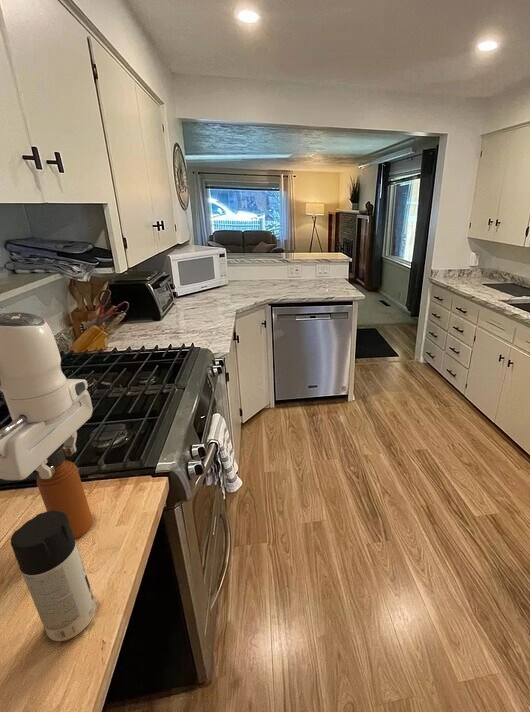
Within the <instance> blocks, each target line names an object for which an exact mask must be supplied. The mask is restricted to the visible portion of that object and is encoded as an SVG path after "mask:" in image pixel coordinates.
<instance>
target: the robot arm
mask: <svg viewBox="0 0 530 712" xmlns="http://www.w3.org/2000/svg"><path fill="white" fill-rule="evenodd" d="M61 364H62V357H61V354H60V350H59V347H58V344H57V340H56V338H55V335H54V333H53V331H52V329H51V327H50V325H49V324H48V323H47V320H45V319H44V318H43V317H42V316H39V315H37V314H34V313H29V312H18V311H17V312H15V311H14V312H13V311H12V312H2V313H0V392H2V394H3V397H4V400H5V402H6V406H7V409H8V412H9V414H10V417H11V420H12V421H11V422H10V423H9V424H8V425H6V426H4V427H2V428H1V429H0V479H1V480H3V481H4V480H5V481H23V480H26V479H27V478H28V477H29V476H30V475H31V474H32V473H33V472H34V471H36V472H38V474H39V475H40V477H41V478H42V479H49V478H50V477H51V476H52V475H53V474H54V473H55V470H54V469H55V468H54V466H47V465H45V464H46V463H47V462H48V461H47V458H48V457H49V456H50V455H51V454H52V453H53V452H54V451H55V450H56V449H58V448H59V447H60V446H62V445H63V446H62V447H63V451H64V454H65V457H72V456H73V455H74V454H75V453H77V446H76V442H77V437H78V432H77V431H78V430H79V429H80V428H81V427H82V426H83V425H85V424H86V422H88V420H90V419H91V418H92V416H93V411H94V409H93V404H92V399H91V396H90V393H89V391H88V387H89V385H88V380H86V379H81V378H79V379H78V378H67V377H66V375H65V374H64V373H63V370H62V367H61Z"/></svg>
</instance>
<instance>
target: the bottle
mask: <svg viewBox="0 0 530 712" xmlns="http://www.w3.org/2000/svg"><path fill="white" fill-rule="evenodd" d="M54 468H55V469H54V470H55V473H54V474H53V475H52V476H51V477H50V478H49V479H42V478H41V477H40V475H39V473H38V474H37V476H36V486H37V487H38V491H39V493H40V496H41V499H42V501H43V504H44V507H45V510H46V512H48V511H53V510H57V511H62V512H64V513H65V514H66V515H67V517H68V520H69V523H70V526H71V529H72V532H73V534H74V537H75V540H76V539H78V538H80V537H82V536H83V535H84V534H86V533H87V532H88V531H89V530H90V529H91V527H92V525H93V522H94V519H93V516H92V512H91V509H90V506H89V502H88V499H87V495H86V493H85V489H84V486H83V483H82V480H81V476H80V473H79V470H78V466H77V465H76V464H75V463H74V462H73V461H70V460H68V459H65V460H64V462H63V463H61V464H60V465H58V466H56V467H54Z"/></svg>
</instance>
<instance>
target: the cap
mask: <svg viewBox="0 0 530 712" xmlns="http://www.w3.org/2000/svg"><path fill="white" fill-rule="evenodd" d="M63 447H64V446H62V445H61V446H60V447H59V448H58V449H56V450H55V451H54V452H53V453H52V454H51V455H50V456H49V457H48V458H47V461H48V462H47V463H46V464H45V465H47V466H54V467H56V466H58V465H60V464H61V463H63V462H64V460H66V456H65V454H64V451H63Z"/></svg>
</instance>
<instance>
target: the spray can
mask: <svg viewBox="0 0 530 712" xmlns="http://www.w3.org/2000/svg"><path fill="white" fill-rule="evenodd" d="M10 546H11V549H12V551H13V554H14V556H15V559H16V562H17V564H18V568H19V570H20V573H21V574H22V577H23V578H24V582H25V584H26V587H27V589H28V591H29V595H30V597H31V600H32V601H33V604H34V606H35V609H36V612H37V613H38V616H39V619H40V621H41V623H42V626H43V629H44V631H45V633H46V636H47V637H48V638H49V639H50V640H52V641H54V642H65V641H69V640H71V639H73V638H74V637H76V636H77V635H79V634H81V633H82V632H83V631H84V630H85V629H87V627H88V626H89V625H90V623H91V622H92V620H93V618H94V615H95V614H96V613H95V612H96V600H95V596H94V595H93V589H92V588H91V584H90V581H89V579H88V575H87V572H86V569H85V565H84V564H83V560H82V559H83V558H82V556H81V552H80V550H79V547H78V546H79V545H78V543H77V540H76V539H75V537H74V534H73V532H72V529H71V526H70V523H69V520H68V517H67V515H66V514H65V513H64V512H62V511H57V510H53V511H48V512H47V511H45V512H41V513H38V514H37V515H35V516H34V517H33V518H31V519H28V520H27V521H25V522H24V523H23V524H22V525H21V526H20V527H19V528H18V529H17V530H15V531H14V532H13V534H12V535H11V537H10Z"/></svg>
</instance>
